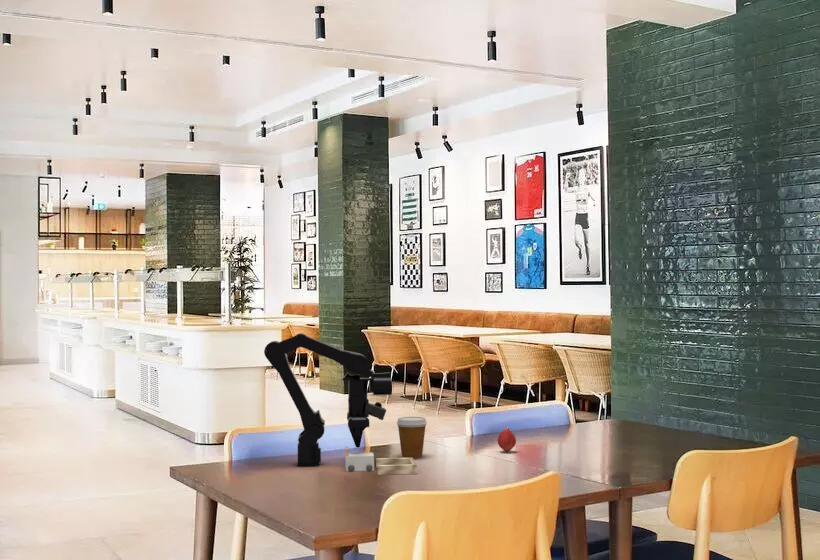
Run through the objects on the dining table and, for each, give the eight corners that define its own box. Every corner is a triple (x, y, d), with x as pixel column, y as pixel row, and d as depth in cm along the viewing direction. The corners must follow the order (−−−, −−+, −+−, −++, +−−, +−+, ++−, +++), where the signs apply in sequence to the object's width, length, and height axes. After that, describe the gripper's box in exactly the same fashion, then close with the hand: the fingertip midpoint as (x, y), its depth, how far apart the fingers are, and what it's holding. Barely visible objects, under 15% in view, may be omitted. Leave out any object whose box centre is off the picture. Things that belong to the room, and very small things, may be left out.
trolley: (346, 472, 270) (346, 449, 270) (345, 467, 277) (345, 445, 277) (374, 471, 271) (374, 449, 271) (372, 467, 277) (372, 445, 278)
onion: (495, 453, 299) (495, 428, 299) (500, 450, 305) (500, 425, 305) (513, 454, 297) (513, 428, 297) (518, 451, 302) (518, 426, 302)
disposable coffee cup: (424, 460, 288) (423, 421, 288) (393, 459, 289) (393, 420, 290) (429, 454, 297) (429, 416, 297) (400, 453, 299) (400, 416, 299)
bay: (378, 474, 265) (378, 465, 265) (375, 466, 277) (375, 458, 277) (416, 473, 266) (416, 465, 266) (413, 466, 278) (413, 457, 278)
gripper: (386, 398, 274) (386, 452, 274) (382, 391, 293) (382, 441, 293) (348, 399, 273) (348, 452, 273) (347, 392, 292) (347, 442, 292)
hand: (357, 447), depth 283 cm, fingers closed
